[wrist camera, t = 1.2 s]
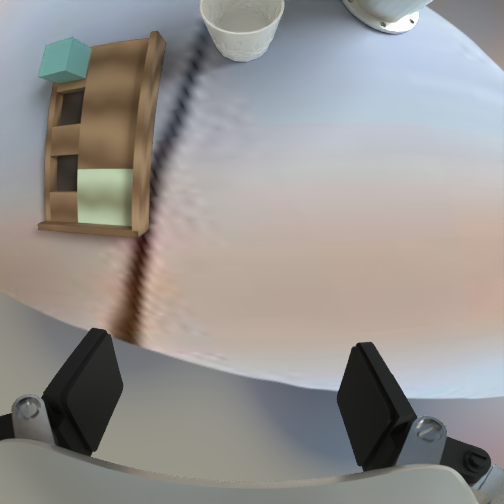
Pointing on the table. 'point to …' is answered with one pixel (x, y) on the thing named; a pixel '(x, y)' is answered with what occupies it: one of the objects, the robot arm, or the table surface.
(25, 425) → the robot arm
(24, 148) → the table surface
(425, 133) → the table surface
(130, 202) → the board
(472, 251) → the table surface
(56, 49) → the block
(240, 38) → the white cup
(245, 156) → the table surface
